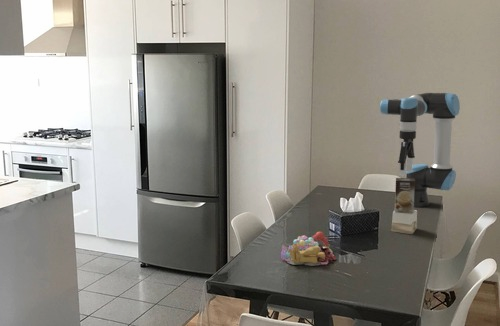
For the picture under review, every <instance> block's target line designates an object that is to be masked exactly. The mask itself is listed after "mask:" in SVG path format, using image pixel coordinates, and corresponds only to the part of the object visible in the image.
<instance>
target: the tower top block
mask: <svg viewBox="0 0 500 326" xmlns="http://www.w3.org/2000/svg"><path fill="white" fill-rule="evenodd" d="M417 218H418V210H416V209H414V213H404V212H395V210H393V211H392V221H391V223H392V222H397V223H403V224H409V225H411V224H412V223H413V222H415V221H416V220H417V221H418V219H417Z"/></svg>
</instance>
